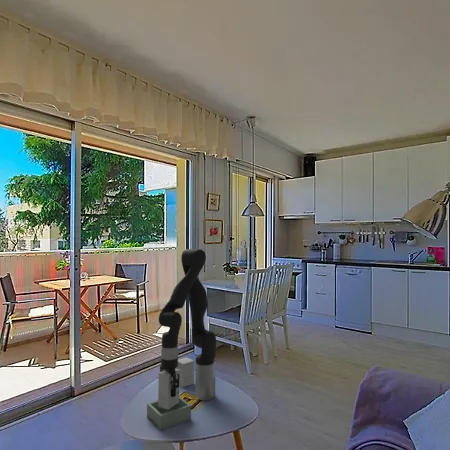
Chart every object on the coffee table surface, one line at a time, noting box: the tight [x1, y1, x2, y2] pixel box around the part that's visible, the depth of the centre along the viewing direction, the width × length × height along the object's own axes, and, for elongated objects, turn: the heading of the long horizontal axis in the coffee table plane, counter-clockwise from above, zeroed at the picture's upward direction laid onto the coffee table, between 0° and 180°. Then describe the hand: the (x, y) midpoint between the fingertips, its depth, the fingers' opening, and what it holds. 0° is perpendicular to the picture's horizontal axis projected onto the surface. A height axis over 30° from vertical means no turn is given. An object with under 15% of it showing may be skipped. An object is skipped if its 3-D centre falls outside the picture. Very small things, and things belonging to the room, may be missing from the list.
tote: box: [146, 396, 192, 432], centre depth 154 cm, size 15×13×6 cm
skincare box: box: [157, 369, 180, 410], centre depth 154 cm, size 8×6×15 cm
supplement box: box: [176, 357, 195, 388], centre depth 189 cm, size 7×7×13 cm
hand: (168, 393), depth 154 cm, fingers closed on skincare box, 7 cm apart
